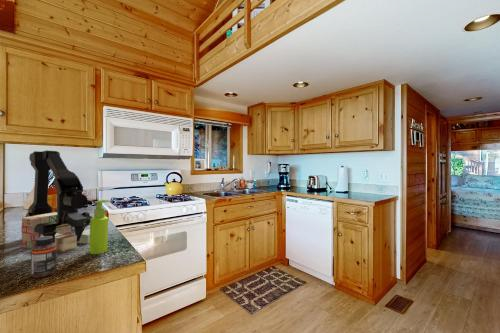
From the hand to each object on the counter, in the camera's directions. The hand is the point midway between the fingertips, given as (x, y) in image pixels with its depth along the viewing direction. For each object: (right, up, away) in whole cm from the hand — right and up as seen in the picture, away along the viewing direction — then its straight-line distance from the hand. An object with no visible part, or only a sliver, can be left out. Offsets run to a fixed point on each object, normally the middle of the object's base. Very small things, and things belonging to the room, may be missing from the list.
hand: (65, 244), depth 93 cm
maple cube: (0, -2, 0) cm, 2 cm away
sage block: (+2, -2, +11) cm, 11 cm away
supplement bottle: (+11, -2, -22) cm, 24 cm away
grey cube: (-7, -2, +1) cm, 7 cm away
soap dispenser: (+15, -2, -2) cm, 15 cm away
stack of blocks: (-13, -2, +10) cm, 16 cm away
